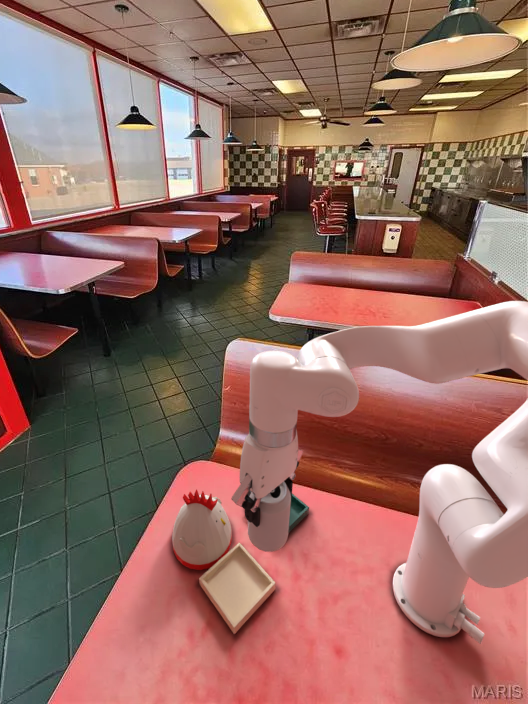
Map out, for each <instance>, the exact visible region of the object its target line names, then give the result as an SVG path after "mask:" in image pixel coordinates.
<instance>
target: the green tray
mask: <svg viewBox="0 0 528 704" xmlns="http://www.w3.org/2000/svg"><path fill="white" fill-rule="evenodd" d="M309 513H310V506H308V505H307V504H306V503H305V502H303V501H302V500H301V499H300V498H299V497H297V496H296V495H295V494H294V493H292V497H291V510H290V517H289V529H288V534H289V533H290V532H292V531H293V530H294V528H295V527H297V526H298V525H299V524H300V523H301V521H303V519H305V518H306V517H307V516H308V515H309Z"/></svg>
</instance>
